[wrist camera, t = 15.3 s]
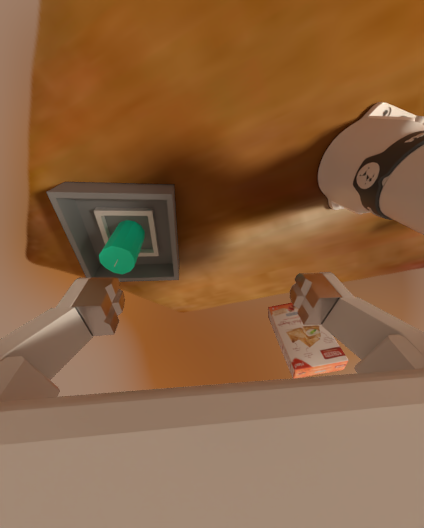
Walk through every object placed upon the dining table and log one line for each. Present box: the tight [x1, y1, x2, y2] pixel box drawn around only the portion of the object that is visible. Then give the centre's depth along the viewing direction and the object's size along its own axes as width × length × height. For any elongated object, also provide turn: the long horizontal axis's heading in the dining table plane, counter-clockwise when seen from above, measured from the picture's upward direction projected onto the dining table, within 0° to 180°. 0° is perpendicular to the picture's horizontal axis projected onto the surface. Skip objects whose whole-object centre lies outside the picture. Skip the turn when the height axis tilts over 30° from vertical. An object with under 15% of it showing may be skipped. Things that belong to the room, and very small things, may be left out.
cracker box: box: [268, 303, 348, 378], centre depth 58 cm, size 14×6×21 cm, turn 101°
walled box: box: [46, 182, 179, 282], centre depth 40 cm, size 20×20×6 cm
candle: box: [99, 220, 145, 274], centre depth 37 cm, size 6×6×12 cm
